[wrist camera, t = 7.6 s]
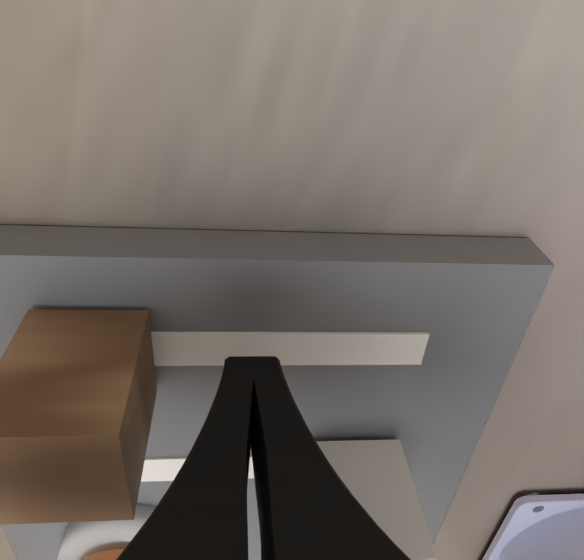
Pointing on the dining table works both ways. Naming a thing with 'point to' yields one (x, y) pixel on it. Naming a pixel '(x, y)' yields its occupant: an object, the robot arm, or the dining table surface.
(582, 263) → the dining table surface
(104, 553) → the button orange
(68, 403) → the slider walnut
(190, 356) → the panel
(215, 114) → the dining table surface
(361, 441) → the slider cream
